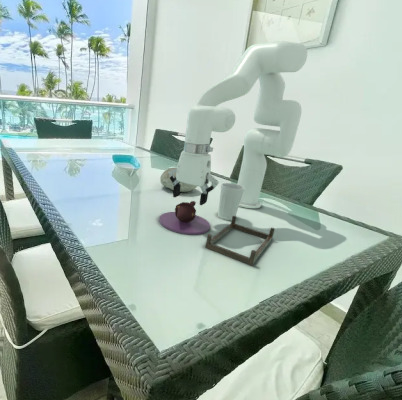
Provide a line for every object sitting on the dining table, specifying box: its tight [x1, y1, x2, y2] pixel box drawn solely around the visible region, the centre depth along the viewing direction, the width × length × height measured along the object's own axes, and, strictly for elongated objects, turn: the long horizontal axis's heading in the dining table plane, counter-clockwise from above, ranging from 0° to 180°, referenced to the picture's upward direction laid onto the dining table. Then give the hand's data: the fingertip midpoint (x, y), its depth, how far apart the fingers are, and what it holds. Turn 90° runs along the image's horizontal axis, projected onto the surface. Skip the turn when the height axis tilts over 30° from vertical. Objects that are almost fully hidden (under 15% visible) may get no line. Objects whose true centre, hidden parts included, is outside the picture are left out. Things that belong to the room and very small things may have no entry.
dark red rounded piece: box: [174, 200, 197, 223], centre depth 92 cm, size 7×7×15 cm
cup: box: [217, 182, 245, 221], centre depth 100 cm, size 8×8×12 cm
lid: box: [158, 211, 211, 236], centre depth 93 cm, size 17×17×1 cm
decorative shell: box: [159, 166, 198, 193], centre depth 129 cm, size 18×18×10 cm
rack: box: [205, 215, 276, 267], centre depth 81 cm, size 21×13×4 cm, turn 140°
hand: (188, 200), depth 91 cm, fingers open, 9 cm apart
